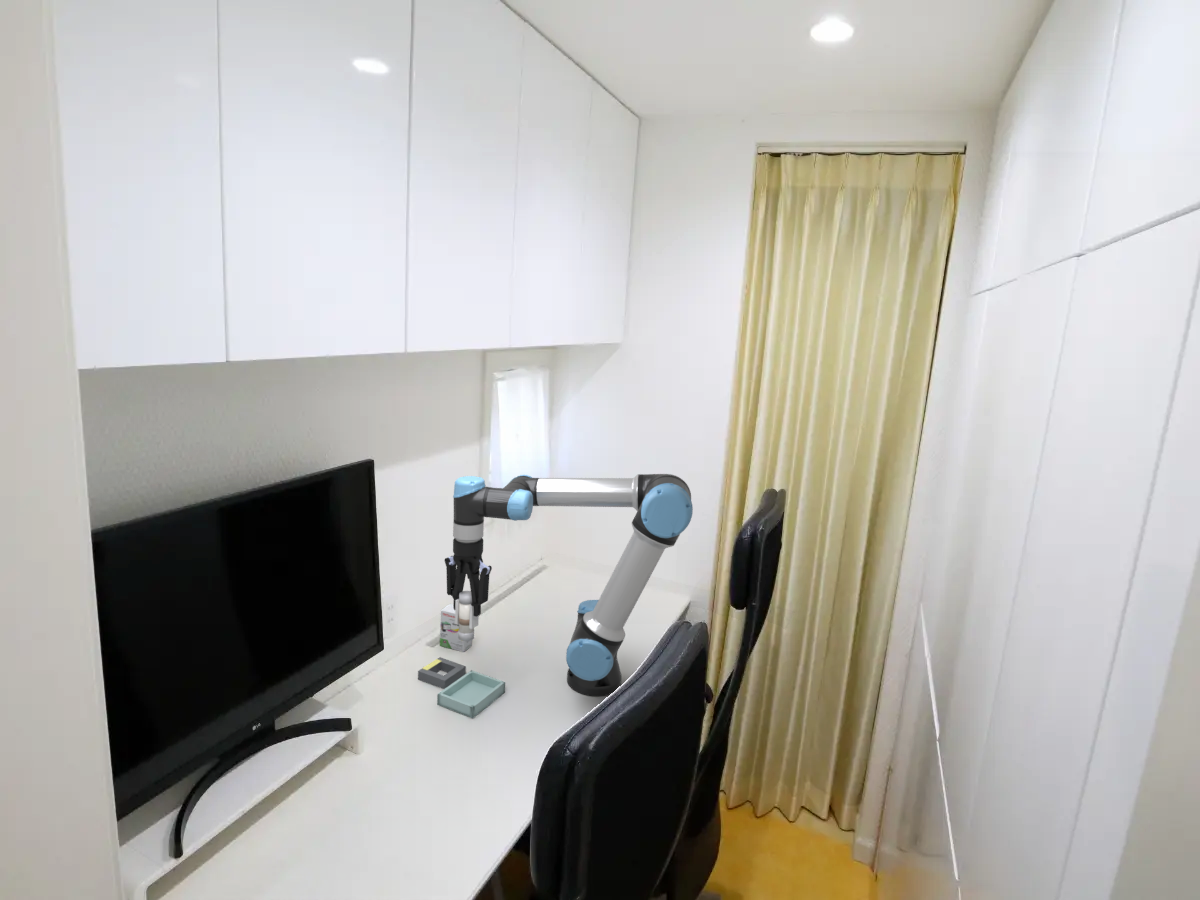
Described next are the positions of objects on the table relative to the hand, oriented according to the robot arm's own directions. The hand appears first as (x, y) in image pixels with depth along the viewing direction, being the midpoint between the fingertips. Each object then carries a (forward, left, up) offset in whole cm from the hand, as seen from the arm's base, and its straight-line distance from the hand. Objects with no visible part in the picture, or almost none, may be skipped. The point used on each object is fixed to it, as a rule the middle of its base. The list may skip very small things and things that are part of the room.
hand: (466, 624), depth 171 cm
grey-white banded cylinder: (0, 0, -4) cm, 4 cm away
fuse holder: (+9, -3, -19) cm, 21 cm away
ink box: (+17, -19, -19) cm, 32 cm away
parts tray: (-4, +1, -19) cm, 19 cm away
